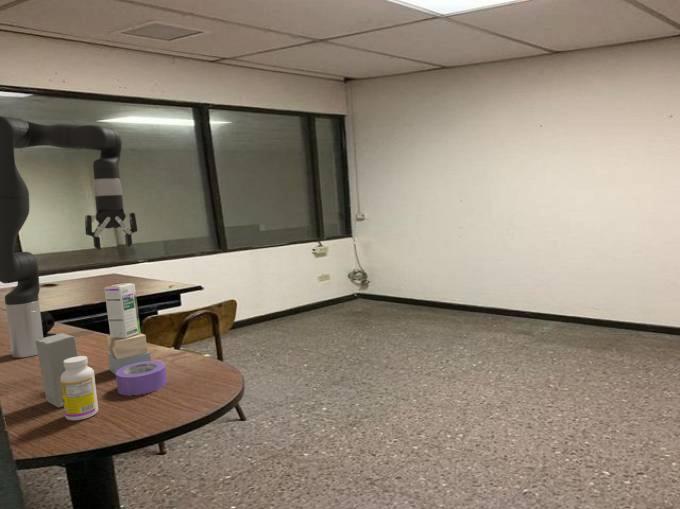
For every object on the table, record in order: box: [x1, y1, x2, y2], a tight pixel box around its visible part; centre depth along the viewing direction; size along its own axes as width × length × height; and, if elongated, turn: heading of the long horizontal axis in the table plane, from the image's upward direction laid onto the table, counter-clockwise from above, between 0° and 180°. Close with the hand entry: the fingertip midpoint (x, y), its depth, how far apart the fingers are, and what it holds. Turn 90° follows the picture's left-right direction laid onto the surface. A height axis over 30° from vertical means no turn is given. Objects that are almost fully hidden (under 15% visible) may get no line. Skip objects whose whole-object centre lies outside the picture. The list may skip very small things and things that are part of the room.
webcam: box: [40, 311, 58, 338], centre depth 186 cm, size 8×8×10 cm
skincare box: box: [36, 332, 79, 408], centre depth 123 cm, size 8×7×16 cm
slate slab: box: [107, 350, 152, 376], centre depth 145 cm, size 9×9×5 cm
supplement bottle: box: [60, 355, 99, 421], centre depth 113 cm, size 7×7×13 cm
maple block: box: [106, 332, 148, 360], centre depth 144 cm, size 8×8×5 cm
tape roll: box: [115, 360, 168, 397], centre depth 130 cm, size 12×12×5 cm
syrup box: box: [103, 282, 142, 338], centre depth 144 cm, size 6×6×14 cm
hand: (113, 248), depth 156 cm, fingers open, 8 cm apart
